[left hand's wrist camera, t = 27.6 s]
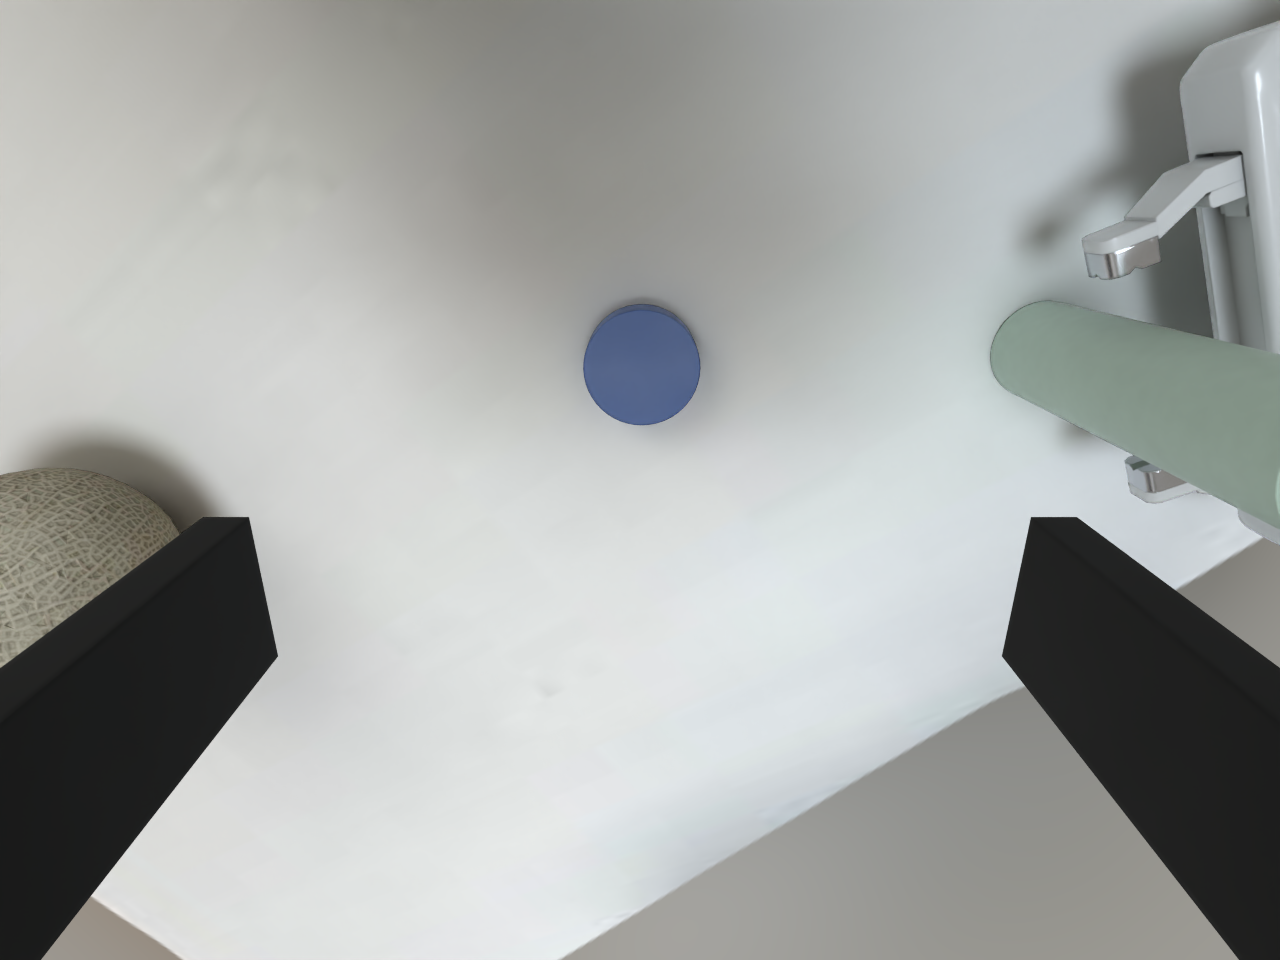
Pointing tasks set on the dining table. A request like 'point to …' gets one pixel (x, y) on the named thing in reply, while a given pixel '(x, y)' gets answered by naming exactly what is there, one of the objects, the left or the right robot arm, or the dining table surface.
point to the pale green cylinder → (1154, 396)
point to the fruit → (67, 546)
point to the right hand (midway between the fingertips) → (1115, 377)
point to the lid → (641, 365)
